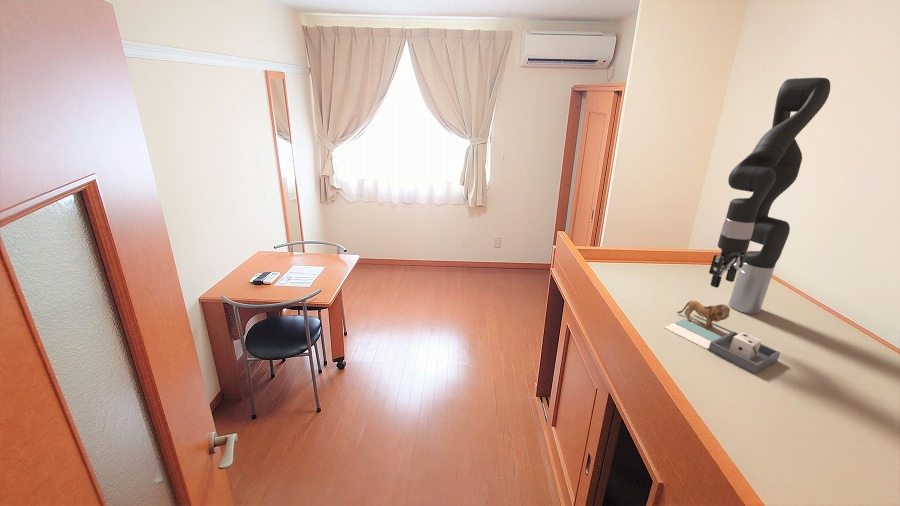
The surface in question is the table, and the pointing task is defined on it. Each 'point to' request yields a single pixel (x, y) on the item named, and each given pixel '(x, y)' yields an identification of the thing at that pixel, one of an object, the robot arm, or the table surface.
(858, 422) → the table surface
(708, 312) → the lion figurine
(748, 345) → the die
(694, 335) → the track
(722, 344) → the dice tray
